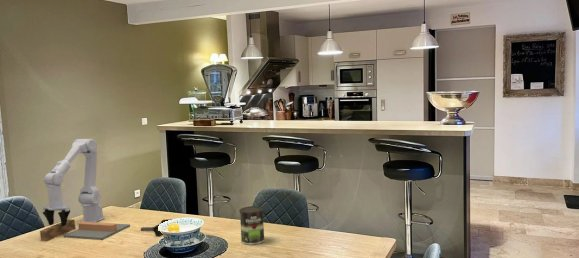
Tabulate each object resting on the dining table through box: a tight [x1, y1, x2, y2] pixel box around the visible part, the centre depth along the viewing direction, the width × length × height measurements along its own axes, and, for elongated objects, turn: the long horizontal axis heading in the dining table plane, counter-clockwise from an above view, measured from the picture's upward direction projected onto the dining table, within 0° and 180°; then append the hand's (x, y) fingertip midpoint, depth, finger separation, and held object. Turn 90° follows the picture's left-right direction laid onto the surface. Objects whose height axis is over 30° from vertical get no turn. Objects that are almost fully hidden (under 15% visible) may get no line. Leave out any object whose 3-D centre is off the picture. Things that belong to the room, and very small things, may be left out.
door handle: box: [140, 218, 172, 237], centre depth 217 cm, size 3×20×16 cm
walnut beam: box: [39, 218, 76, 242], centre depth 215 cm, size 18×4×5 cm, turn 164°
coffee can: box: [239, 205, 265, 246], centre depth 193 cm, size 10×10×14 cm
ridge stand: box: [63, 221, 131, 241], centre depth 217 cm, size 20×22×4 cm
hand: (57, 225), depth 215 cm, fingers open, 7 cm apart
